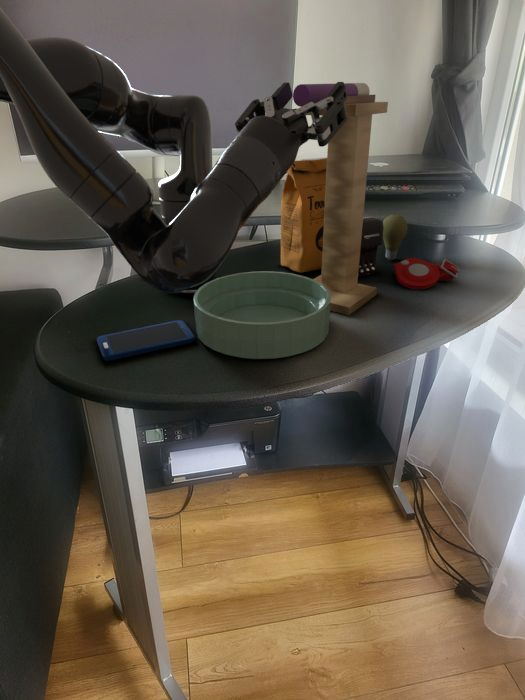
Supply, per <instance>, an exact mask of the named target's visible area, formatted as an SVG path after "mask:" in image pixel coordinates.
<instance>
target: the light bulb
mask: <svg viewBox="0 0 525 700" xmlns="http://www.w3.org/2000/svg"><path fill="white" fill-rule="evenodd" d="M382 222H383V226H384V229H383V242H384V248H385V258H386V259H387V260H388V261H391V262H392V261H393V260H395V259H397V256H398V250H399V248H400V246H401V243H402V242H403V240H404V238H405V236H406V235H407V232H408V229H409V226H407V225H408V222H407V220H406V219H405V218H404V217H403V216H402V215H401V214H396V213H395V214H390V215H388V216H387V217H385V218H384V219H383V221H382Z"/></svg>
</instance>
